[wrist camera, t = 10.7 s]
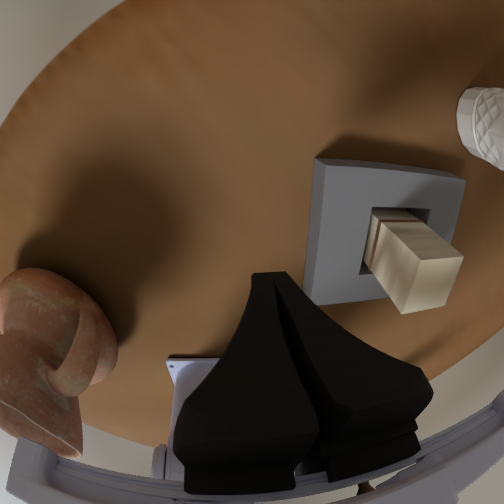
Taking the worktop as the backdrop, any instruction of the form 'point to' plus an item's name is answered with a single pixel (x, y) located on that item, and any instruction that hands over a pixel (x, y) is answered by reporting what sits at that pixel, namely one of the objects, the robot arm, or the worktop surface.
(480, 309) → the worktop surface
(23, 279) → the ceramic jug
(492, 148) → the white cup
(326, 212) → the socket board
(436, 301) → the peg
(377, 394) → the robot arm
